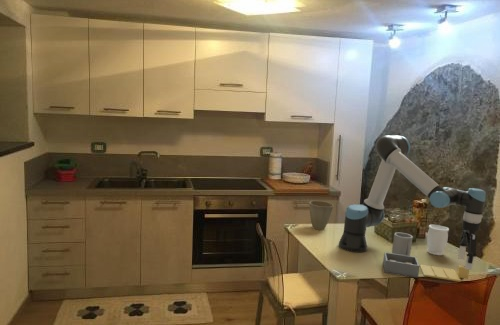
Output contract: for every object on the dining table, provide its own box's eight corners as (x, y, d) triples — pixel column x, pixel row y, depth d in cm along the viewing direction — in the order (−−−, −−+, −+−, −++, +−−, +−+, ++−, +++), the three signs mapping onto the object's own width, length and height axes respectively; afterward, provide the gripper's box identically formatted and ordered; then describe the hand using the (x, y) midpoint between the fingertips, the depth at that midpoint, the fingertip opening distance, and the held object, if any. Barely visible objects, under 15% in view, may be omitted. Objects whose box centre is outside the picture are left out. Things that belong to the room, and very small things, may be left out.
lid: (423, 276, 198) (425, 265, 198) (419, 266, 211) (420, 256, 210) (470, 283, 194) (472, 272, 193) (463, 272, 206) (465, 262, 206)
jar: (447, 257, 227) (451, 231, 224) (427, 254, 229) (431, 228, 226) (442, 251, 237) (446, 225, 235) (423, 248, 239) (427, 223, 237)
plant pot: (306, 230, 256) (309, 204, 254) (307, 223, 271) (309, 199, 269) (330, 233, 254) (333, 207, 252) (330, 226, 268) (333, 202, 266)
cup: (396, 252, 228) (399, 231, 227) (412, 257, 222) (415, 236, 220) (388, 255, 222) (391, 234, 220) (404, 261, 216) (407, 239, 214)
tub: (384, 272, 198) (386, 260, 197) (382, 263, 210) (384, 252, 209) (417, 278, 195) (419, 265, 194) (414, 268, 206) (416, 257, 206)
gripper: (488, 230, 184) (480, 275, 187) (473, 215, 208) (466, 256, 211) (470, 227, 185) (462, 272, 189) (457, 213, 209) (450, 253, 212)
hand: (464, 263), depth 200 cm, fingers open, 13 cm apart
